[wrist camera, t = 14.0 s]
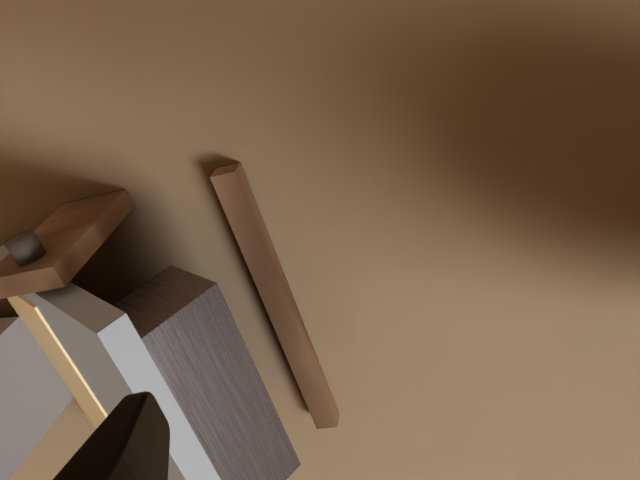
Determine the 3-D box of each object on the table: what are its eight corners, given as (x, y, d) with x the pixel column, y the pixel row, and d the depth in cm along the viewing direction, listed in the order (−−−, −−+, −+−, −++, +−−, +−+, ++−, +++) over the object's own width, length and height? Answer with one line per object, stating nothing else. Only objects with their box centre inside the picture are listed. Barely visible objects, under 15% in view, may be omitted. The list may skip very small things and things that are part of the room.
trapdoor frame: (232, 142, 22) (181, 215, 17) (343, 425, 29) (328, 530, 24) (53, 186, 24) (-36, 262, 19) (196, 439, 31) (157, 538, 26)
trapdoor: (205, 257, 19) (93, 335, 17) (308, 480, 24) (232, 562, 22) (64, 210, 28) (-22, 258, 25) (162, 382, 33) (97, 434, 31)
